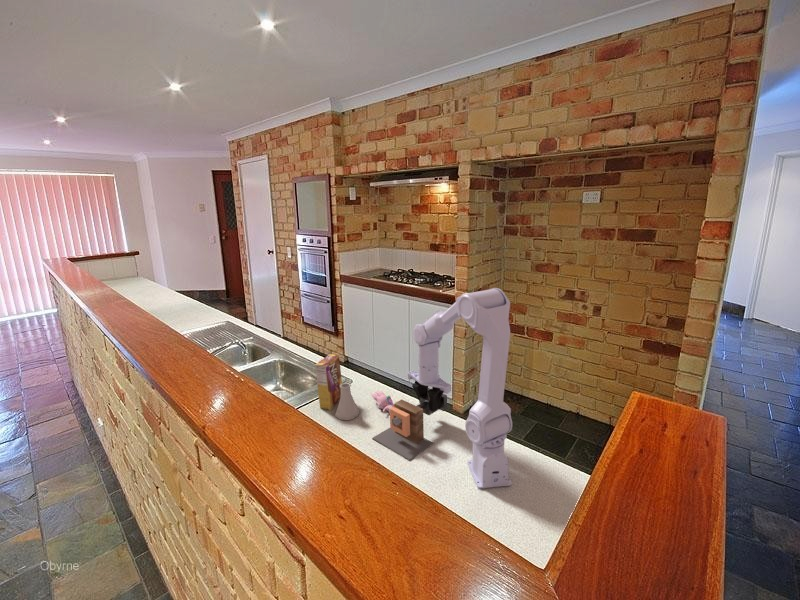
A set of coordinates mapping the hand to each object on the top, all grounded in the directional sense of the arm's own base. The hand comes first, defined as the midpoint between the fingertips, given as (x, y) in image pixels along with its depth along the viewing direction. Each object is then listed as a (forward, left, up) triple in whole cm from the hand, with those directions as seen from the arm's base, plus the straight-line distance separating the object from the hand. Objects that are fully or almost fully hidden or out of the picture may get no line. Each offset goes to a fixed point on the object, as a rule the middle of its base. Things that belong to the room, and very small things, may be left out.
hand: (428, 407), depth 113 cm
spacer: (-8, +9, -2) cm, 12 cm away
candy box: (+18, +30, -6) cm, 35 cm away
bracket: (-5, +7, -5) cm, 10 cm away
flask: (+9, +24, -6) cm, 26 cm away
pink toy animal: (+11, +12, -6) cm, 17 cm away
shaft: (-3, +4, -1) cm, 5 cm away
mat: (-7, +9, -5) cm, 12 cm away
